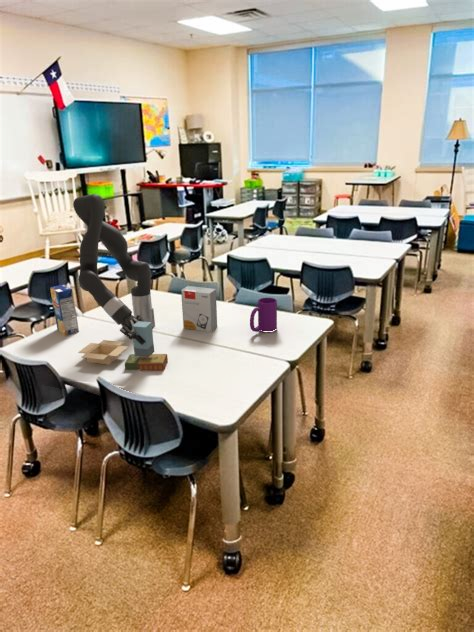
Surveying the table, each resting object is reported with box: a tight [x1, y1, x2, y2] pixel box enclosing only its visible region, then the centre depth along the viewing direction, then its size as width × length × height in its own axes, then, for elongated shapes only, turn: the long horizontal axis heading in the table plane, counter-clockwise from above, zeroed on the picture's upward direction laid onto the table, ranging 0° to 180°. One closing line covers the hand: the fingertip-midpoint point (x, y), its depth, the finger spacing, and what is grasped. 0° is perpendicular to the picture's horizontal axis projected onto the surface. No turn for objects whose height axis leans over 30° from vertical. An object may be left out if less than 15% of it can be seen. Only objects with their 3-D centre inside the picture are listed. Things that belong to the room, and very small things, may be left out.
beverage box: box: [49, 284, 80, 336], centre depth 230 cm, size 7×11×22 cm, turn 39°
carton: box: [124, 353, 169, 372], centre depth 194 cm, size 8×16×4 cm, turn 87°
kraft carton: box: [78, 339, 129, 365], centre depth 201 cm, size 18×18×5 cm
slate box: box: [132, 321, 155, 357], centre depth 190 cm, size 6×6×13 cm
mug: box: [249, 297, 278, 333], centre depth 223 cm, size 9×16×15 cm, turn 131°
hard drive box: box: [180, 285, 218, 333], centre depth 229 cm, size 16×8×20 cm, turn 68°
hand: (147, 340), depth 190 cm, fingers closed on slate box, 5 cm apart
